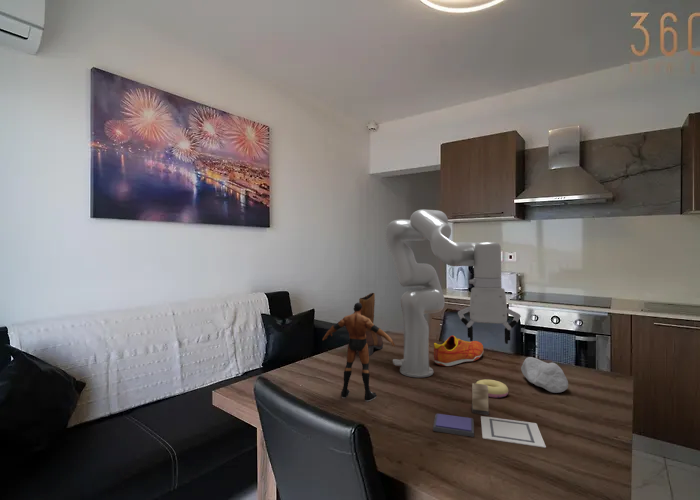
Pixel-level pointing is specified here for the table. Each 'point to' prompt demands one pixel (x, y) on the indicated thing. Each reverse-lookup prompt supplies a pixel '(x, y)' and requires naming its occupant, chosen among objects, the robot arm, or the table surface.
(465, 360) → the running shoe
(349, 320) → the figurine
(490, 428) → the sheet
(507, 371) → the table surface
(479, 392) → the beige cardboard box
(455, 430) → the ink pad
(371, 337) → the boot
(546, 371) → the decorative stone
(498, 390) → the donut
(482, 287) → the robot arm
